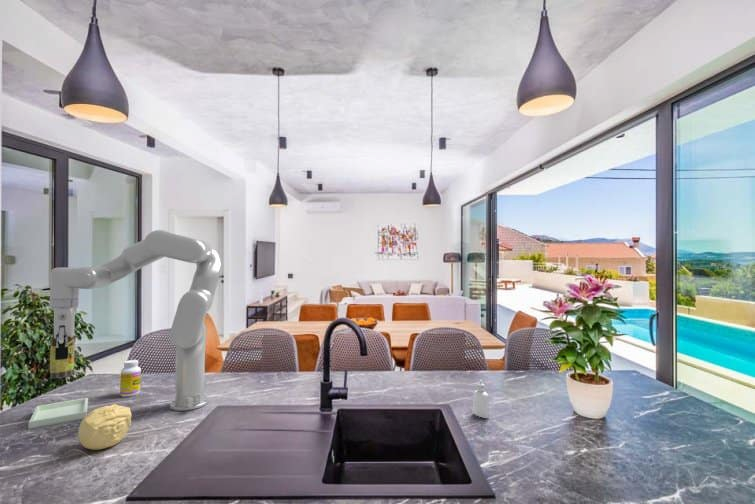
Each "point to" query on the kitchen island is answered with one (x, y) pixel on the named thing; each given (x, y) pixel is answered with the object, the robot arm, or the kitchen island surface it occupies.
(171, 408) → the robot arm
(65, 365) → the sauce bottle
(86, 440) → the sculpture
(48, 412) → the tray
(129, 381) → the supplement bottle
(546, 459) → the kitchen island surface
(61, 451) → the kitchen island surface
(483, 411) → the eye dropper bottle
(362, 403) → the kitchen island surface
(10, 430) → the kitchen island surface
